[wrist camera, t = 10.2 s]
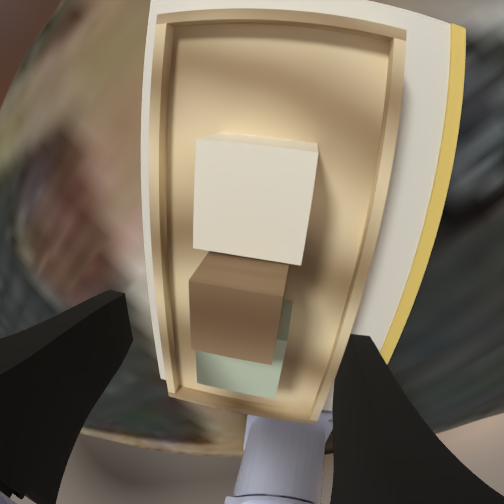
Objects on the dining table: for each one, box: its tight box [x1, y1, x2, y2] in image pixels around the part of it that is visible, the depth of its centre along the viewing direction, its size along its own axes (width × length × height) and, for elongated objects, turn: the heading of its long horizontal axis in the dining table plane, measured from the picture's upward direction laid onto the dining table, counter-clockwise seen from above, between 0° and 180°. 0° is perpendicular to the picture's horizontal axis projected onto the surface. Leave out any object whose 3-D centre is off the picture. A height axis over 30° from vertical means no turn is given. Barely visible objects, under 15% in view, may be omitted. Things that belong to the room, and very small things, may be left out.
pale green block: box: [195, 300, 293, 399], centre depth 15 cm, size 4×4×3 cm
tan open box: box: [149, 8, 407, 425], centre depth 14 cm, size 22×10×7 cm, turn 176°
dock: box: [141, 0, 466, 411], centre depth 18 cm, size 26×16×3 cm, turn 176°
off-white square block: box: [193, 133, 319, 265], centre depth 12 cm, size 4×4×3 cm
